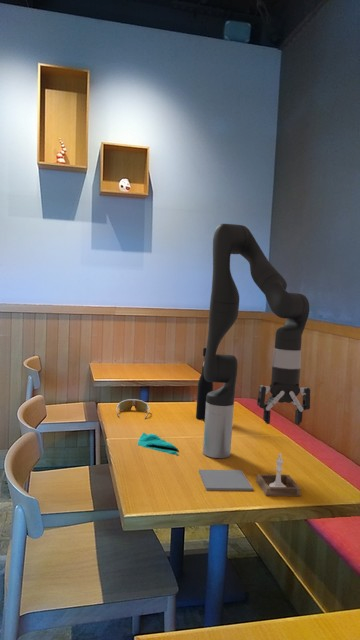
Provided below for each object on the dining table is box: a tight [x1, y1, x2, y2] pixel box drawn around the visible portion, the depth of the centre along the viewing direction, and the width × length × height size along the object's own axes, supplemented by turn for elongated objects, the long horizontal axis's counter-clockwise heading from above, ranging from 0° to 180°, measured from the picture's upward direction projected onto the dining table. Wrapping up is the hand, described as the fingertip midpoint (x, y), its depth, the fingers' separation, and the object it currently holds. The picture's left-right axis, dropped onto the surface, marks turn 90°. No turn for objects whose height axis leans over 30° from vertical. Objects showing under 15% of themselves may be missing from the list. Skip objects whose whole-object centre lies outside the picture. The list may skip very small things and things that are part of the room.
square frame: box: [255, 474, 302, 497], centre depth 129 cm, size 10×10×2 cm
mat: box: [198, 469, 254, 492], centre depth 132 cm, size 13×13×1 cm
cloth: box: [137, 432, 180, 456], centre depth 161 cm, size 26×14×2 cm, turn 19°
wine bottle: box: [195, 347, 214, 421], centre depth 198 cm, size 6×6×30 cm
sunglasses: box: [115, 398, 150, 420], centre depth 198 cm, size 14×15×5 cm
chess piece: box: [268, 452, 287, 487], centre depth 129 cm, size 5×5×10 cm
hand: (282, 423), depth 128 cm, fingers open, 8 cm apart
